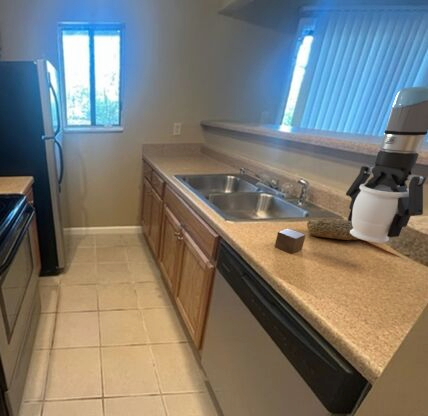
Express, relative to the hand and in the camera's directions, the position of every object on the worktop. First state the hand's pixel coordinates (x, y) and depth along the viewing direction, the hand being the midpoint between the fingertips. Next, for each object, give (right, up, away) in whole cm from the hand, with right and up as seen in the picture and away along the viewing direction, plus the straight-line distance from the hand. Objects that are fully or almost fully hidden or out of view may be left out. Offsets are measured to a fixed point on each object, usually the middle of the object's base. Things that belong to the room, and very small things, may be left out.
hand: (371, 227), depth 79 cm
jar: (0, -3, +1) cm, 3 cm away
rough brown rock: (+12, -5, +26) cm, 29 cm away
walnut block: (-12, -9, +18) cm, 23 cm away
